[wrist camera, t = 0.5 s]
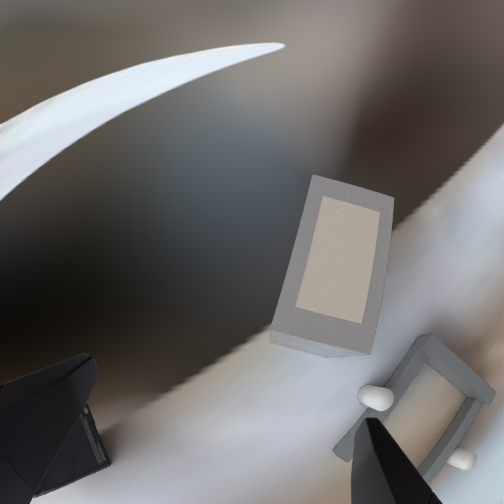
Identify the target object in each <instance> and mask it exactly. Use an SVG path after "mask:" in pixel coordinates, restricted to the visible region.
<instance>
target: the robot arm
mask: <svg viewBox="0 0 504 504" xmlns="http://www.w3.org/2000/svg"><path fill="white" fill-rule="evenodd" d="M98 376H99V374H98V370H97V366H96V362H95V359H94V358H93V357H92V356H90V355H87V354H80V355H78V356H75V357H73V358H70V359H67V360H65V361H62V362H60V363H58V364H55V365H52V366H49V367H47V368H44V369H42V370H39V371H37V372H34V373H31V374H28V375H26V376H23V377H20V378H18V379H15V380H12V381H10V382H7V383H4V385H3V384H1V385H0V504H30V502H31V500H32V498H33V496H34V494H35V492H36V490H37V488H38V487H39V485H40V483H41V481H42V479H43V477H44V476H45V474H46V472H47V470H48V468H49V467H50V465H51V463H52V461H53V460H54V458H55V456H56V455H57V453H58V451H59V449H60V448H61V446H62V444H63V443H64V441H65V439H66V438H67V436H68V434H69V433H70V431H71V429H72V428H73V426H74V424H75V423H76V421H77V419H78V418H79V416H80V414H81V413H82V411H83V409H84V407H85V405H86V403H87V401H88V399H89V396H90V394H91V392H92V390H93V388H94V386H95V384H96V382H97V380H98ZM351 504H442V502H441V501H440V500H439V499H438V497H437V496H436V495H435V493H434V492H432V489H431V488H430V487H429V485H428V484H427V483H426V481H425V480H424V479H423V477H422V476H421V475H420V473H419V472H418V471H417V469H416V468H415V467H414V465H413V464H412V463H411V461H410V460H409V459H408V457H407V456H406V455H405V453H404V452H403V451H402V449H401V448H400V447H399V445H398V444H397V443H396V441H395V440H394V439H393V437H392V436H391V435H390V433H389V432H388V431H387V429H386V428H385V427H384V425H383V424H382V423H381V421H380V420H379V419H378V418H377V417H365V418H364V419H363V421H362V422H361V424H360V426H359V427H358V429H357V431H356V433H355V437H354V449H353V461H352V472H351Z"/></svg>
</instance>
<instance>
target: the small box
mask: <svg viewBox="0 0 504 504" xmlns="http://www.w3.org/2000/svg"><path fill="white" fill-rule="evenodd" d="M110 465H111V463H110V461H109V458H108V456H107V454H106V452H105V449H104V447H103V445H102V442H101V440H100V437H99V434H98V431H97V429H96V426H95V421H94V419H93V417H92V414H91V411H90V409H89V406H88V404H86V405H85V407H84V409H83V411H82V413H81V414H80V416H79V418H78V419H77V421H76V423H75V424H74V426H73V428H72V429H71V431H70V433H69V434H68V436H67V438H66V439H65V441H64V443H63V444H62V446H61V448H60V449H59V451H58V453H57V455H56V456H55V458H54V460H53V461H52V463H51V465H50V467H49V468H48V470H47V472H46V474H45V476H44V477H43V479H42V481H41V483H40V485H39V487H38V488H37V490H36V492H35V494H34V496H33V498H36V497H39V496H41V495H44V494H47V493H49V492H51V491H54V490H57V489H59V488H61V487H64V486H66V485H69V484H71V483H73V482H75V481H77V480H79V479H82V478H84V477H86V476H89V475H90V474H93V473H95V472H98V471H100V470H102V469H104V468H107V467H109V466H110Z"/></svg>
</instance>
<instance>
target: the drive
mask: <svg viewBox="0 0 504 504" xmlns="http://www.w3.org/2000/svg"><path fill="white" fill-rule="evenodd" d="M393 207H394V198H393V197H390V196H387V195H384V194H380V193H377V192H374V191H371V190H367V189H364V188H361V187H357V186H354V185H350V184H346V183H343V182H339V181H336V180H332V179H328V178H324V177H320V176H316V175H312V179H311V183H310V187H309V191H308V195H307V199H306V203H305V207H304V211H303V214H302V218H301V222H300V226H299V230H298V234H297V237H296V241H295V245H294V248H293V252H292V256H291V259H290V263H289V267H288V270H287V274H286V277H285V281H284V284H283V288H282V291H281V295H280V298H279V301H278V305H277V308H276V312H275V315H274V318H273V322H272V325H271V328H270V343H273V344H277V345H280V346H284V347H288V348H291V349H295V350H299V351H303V352H307V353H311V354H315V355H319V356H323V357H327V358H328V357H344V356H357V355H369V354H370V353H371V349H372V345H373V340H374V336H375V331H376V327H377V322H378V317H379V312H380V307H381V301H382V296H383V290H384V284H385V277H386V271H387V264H388V256H389V248H390V240H391V230H392V220H393Z"/></svg>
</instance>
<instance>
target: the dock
mask: <svg viewBox="0 0 504 504" xmlns="http://www.w3.org/2000/svg"><path fill="white" fill-rule="evenodd" d="M424 362H426V363H427V364H429V365H430V366H431V367H432V368H433V369H435V370H436V371H437V372H438V373H439V374H441V375H442V376H443V377H444V378H445V379H447V380H448V381H449V382H450V383H451V384H452V385H454V386H455V387H456V388H457V389H458V390H459V391H461V392H462V393H463V394H464V395H465V396H467V398H466V400H465V401H464V403H463V405H462V406H461V408H460V410H459V411H458V413H457V415H456V416H455V418H454V419H453V421H452V423H451V424H450V426H449V427H448V429H447V430H446V432H445V433H444V435H443V436H442V438H441V439H440V440H439V442H438V443H437V445H436V446H435V447H434V449H433V450H432V451H431V453H430V454H429V455H428V457H427V458H426V459H425V461H424V462H423V463H422V464H421V466H420V467H419V468H418V469H417V471H418V472H419V473H420V475H421V476H422V477H423V479H424V480H425V481H426V483H427V484H429V483H430V482H431V481H432V480H433V478H434V477H435V476H436V475H437V473H438V472H439V471H440V469H441V468H442V467H443V465H444V464H445V463H446V462H447V463H449V464H451V465H453V466H455V467H458V468H460V469H462V470H465V471H466V470H469V469H470V468H472V467H473V465H474V464H475V462H476V459H477V456H476V454H475V453H473V452H470V451H467V450H464V449H461V448H458V447H457V446H458V444H459V443H460V441H461V440H462V438H463V437H464V435H465V434H466V432H467V431H468V429H469V427H470V426H471V424H472V422H473V421H474V419H475V417H476V416H477V414H478V412H479V410H480V409H481V407H482V405H483V404H490V403H491V401H492V399H493V397H494V395H495V394H496V391H495V390H494V389H493V388H492V387H491V386H490V385H489V384H488V383H486V382H485V381H484V380H483V379H482V378H481V377H480V376H479V375H478V374H477V373H476V372H475V371H474V370H472V369H471V368H470V367H469V366H468V365H467V364H466V363H465V362H464V361H463V360H461V359H460V358H459V357H458V356H457V355H456V354H455V353H454V352H453V351H451V350H450V349H449V348H448V347H447V346H446V345H445V344H443V343H442V342H441V341H440V340H439V339H438V338H437V337H435V336H434V335H433V334H432V333H431V334H427V335H423V336H419V337H417V338H416V340H415V341H414V343H413V345H412V346H411V348H410V349H409V351H408V352H407V354H406V356H405V357H404V359H403V360H402V362H401V363H400V365H399V366H398V368H397V369H396V371H395V372H394V374H393V375H392V376H391V378H390V379H389V381H388V382H387V383H386V385H385V386H384V388H382V387H377V386H372V385H365V386H363V387H361V388H360V389H359V391H358V394H357V399H358V401H359V402H360V403H361V404H363V405H366V406H368V409H367V410H366V411H365V412H364V414H363V415H362V416H361V417H360V419H359V420H358V421H357V422H356V423H355V425H354V426H353V427H352V428H351V429H350V430H349V432H348V433H347V434H346V435H345V436H344V437H343V438H342V440H341V441H340V442H339V443H338V444H337V445H336V446H335V447H334V448H333V449H332V450H333V451H334V453H335V454H336V455H337V456H338V457H340V458H341V459H343V460H344V461H346V462H347V463H348V462H349V461H350V460H351V459H352V458H353V449H354V437H355V433H356V431H357V429H358V427H359V426H360V424H361V422H362V421H363V419H364V418H365V417H377V418H378V419H379V420H380V421H381V423H382V422H383V421H384V420H385V419H386V417H387V416H388V415H389V413H390V412H391V411H392V409H393V408H394V407H395V405H396V404H397V403H398V401H399V400H400V398H401V397H402V395H403V394H404V393H405V391H406V390H407V388H408V387H409V385H410V384H411V382H412V381H413V379H414V378H415V376H416V375H417V373H418V372H419V370H420V368H421V367H422V365H423V364H424Z"/></svg>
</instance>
